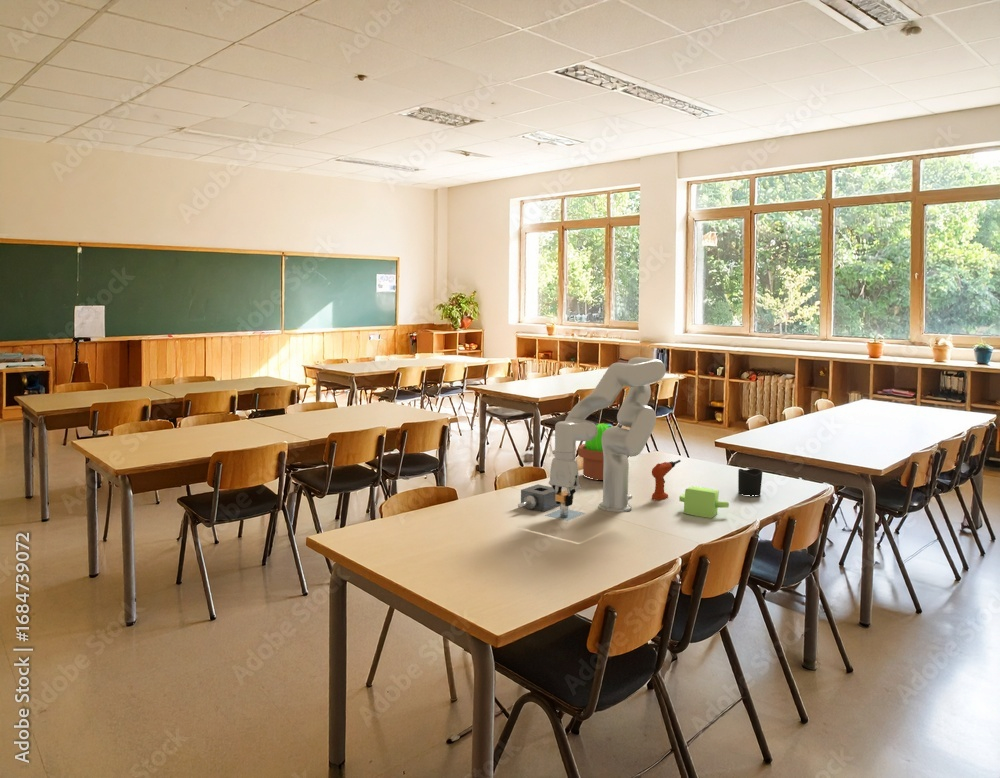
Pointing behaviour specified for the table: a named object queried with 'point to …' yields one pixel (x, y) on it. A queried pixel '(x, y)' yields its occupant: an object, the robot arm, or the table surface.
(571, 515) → the key mat
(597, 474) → the potted cactus
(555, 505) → the block
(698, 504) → the gearbox
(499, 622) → the table surface
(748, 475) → the pen holder
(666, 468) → the toy drill
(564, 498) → the chuck key
